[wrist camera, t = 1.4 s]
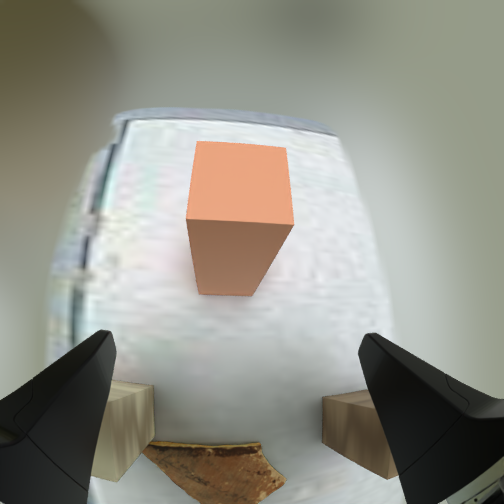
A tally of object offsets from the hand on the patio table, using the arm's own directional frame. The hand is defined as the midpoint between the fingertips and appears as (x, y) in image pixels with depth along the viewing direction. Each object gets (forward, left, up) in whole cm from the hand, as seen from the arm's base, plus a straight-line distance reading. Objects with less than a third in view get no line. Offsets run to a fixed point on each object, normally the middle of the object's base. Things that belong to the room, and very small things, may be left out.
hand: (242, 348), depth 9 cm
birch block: (-9, +4, -13) cm, 16 cm away
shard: (-10, -5, -14) cm, 18 cm away
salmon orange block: (+6, +4, -13) cm, 15 cm away
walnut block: (+1, -12, -13) cm, 18 cm away
